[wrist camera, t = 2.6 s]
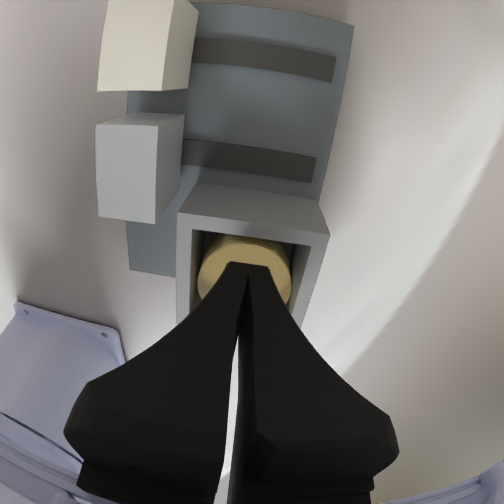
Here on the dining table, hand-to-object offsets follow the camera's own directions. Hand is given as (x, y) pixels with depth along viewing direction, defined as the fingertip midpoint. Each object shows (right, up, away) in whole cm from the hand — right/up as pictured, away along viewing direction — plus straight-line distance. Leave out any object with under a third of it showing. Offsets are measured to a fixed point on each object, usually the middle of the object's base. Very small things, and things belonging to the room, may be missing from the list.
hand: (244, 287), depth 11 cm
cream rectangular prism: (-3, +8, -2) cm, 9 cm away
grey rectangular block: (-3, +5, 0) cm, 6 cm away
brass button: (0, +1, +3) cm, 3 cm away
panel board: (-1, +6, +2) cm, 6 cm away
